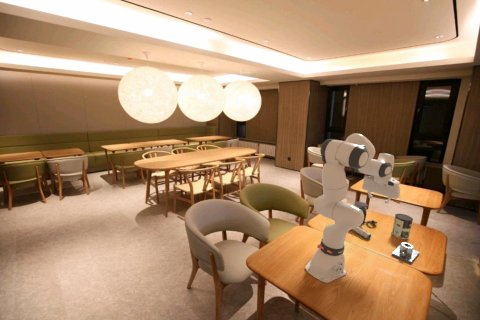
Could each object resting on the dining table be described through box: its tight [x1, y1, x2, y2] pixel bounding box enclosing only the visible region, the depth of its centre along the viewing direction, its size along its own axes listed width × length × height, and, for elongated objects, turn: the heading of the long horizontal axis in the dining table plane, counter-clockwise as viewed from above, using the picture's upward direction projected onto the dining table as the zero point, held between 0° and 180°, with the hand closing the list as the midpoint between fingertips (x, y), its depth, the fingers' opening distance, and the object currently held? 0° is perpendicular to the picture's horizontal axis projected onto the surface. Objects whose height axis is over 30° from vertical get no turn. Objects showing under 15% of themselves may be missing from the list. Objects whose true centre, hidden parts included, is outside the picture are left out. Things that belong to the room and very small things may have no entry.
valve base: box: [391, 244, 420, 265], centre depth 142 cm, size 15×10×5 cm, turn 129°
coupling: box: [399, 241, 414, 256], centre depth 141 cm, size 6×6×5 cm
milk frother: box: [353, 201, 378, 225], centre depth 178 cm, size 14×16×15 cm
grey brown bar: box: [351, 226, 372, 240], centre depth 168 cm, size 5×7×25 cm
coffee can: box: [391, 213, 414, 240], centre depth 162 cm, size 10×10×14 cm
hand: (378, 200), depth 144 cm, fingers open, 8 cm apart
